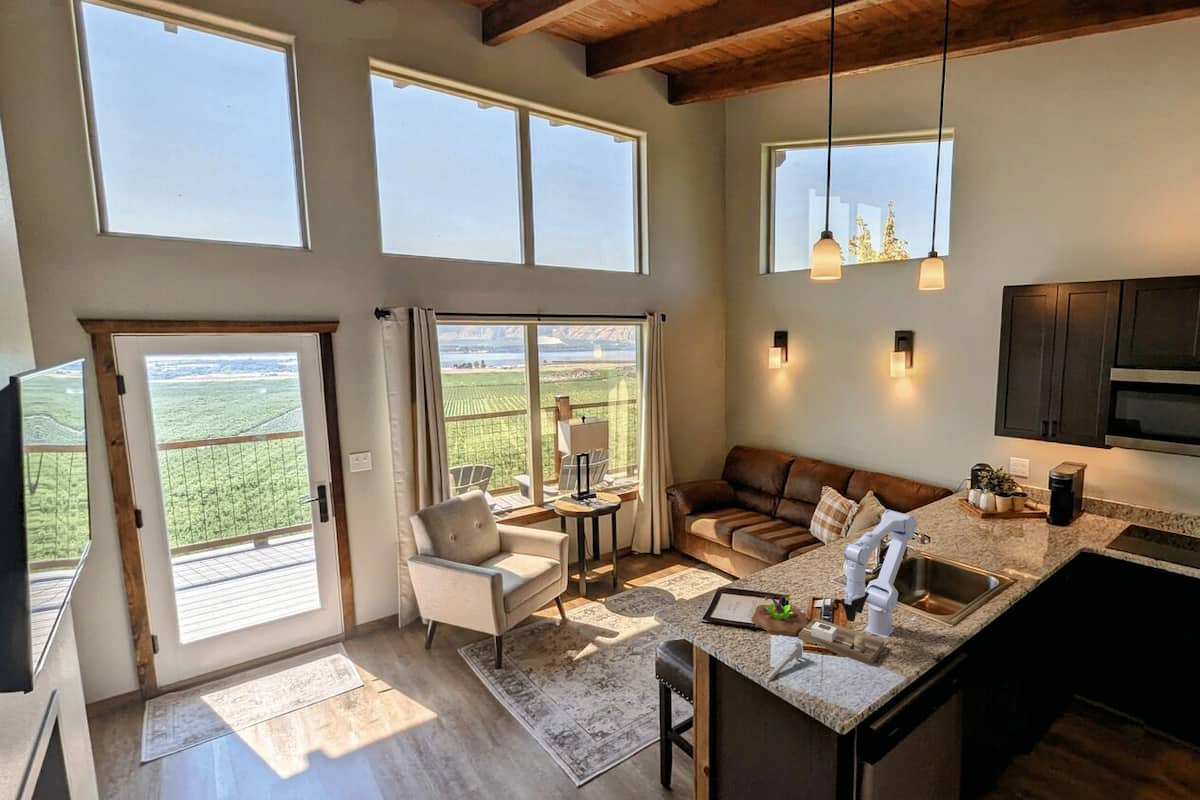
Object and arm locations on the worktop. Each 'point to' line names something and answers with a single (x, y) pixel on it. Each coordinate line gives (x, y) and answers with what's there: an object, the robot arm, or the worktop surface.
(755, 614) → the plant
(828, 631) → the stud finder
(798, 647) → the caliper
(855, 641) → the peg
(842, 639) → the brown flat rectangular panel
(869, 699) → the worktop surface
